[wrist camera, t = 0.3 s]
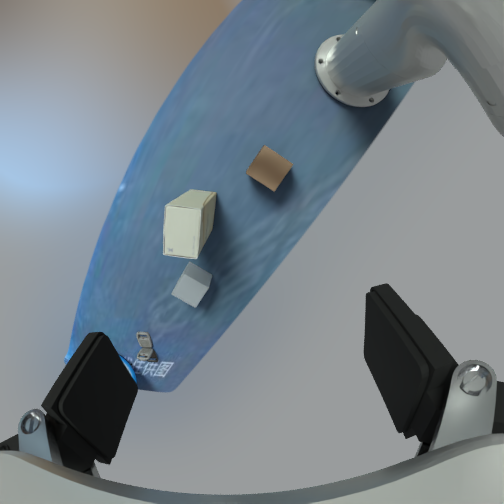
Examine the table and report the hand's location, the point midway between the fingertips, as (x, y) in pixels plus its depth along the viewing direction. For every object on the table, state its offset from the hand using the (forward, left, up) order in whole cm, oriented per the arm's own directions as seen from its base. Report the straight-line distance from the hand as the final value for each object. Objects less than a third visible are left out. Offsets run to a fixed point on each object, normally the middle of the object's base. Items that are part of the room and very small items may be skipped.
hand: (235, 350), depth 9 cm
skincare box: (+7, -4, -34) cm, 35 cm away
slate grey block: (+18, +1, -34) cm, 38 cm away
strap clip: (+39, 0, -34) cm, 52 cm away
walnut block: (-4, +1, -34) cm, 34 cm away
